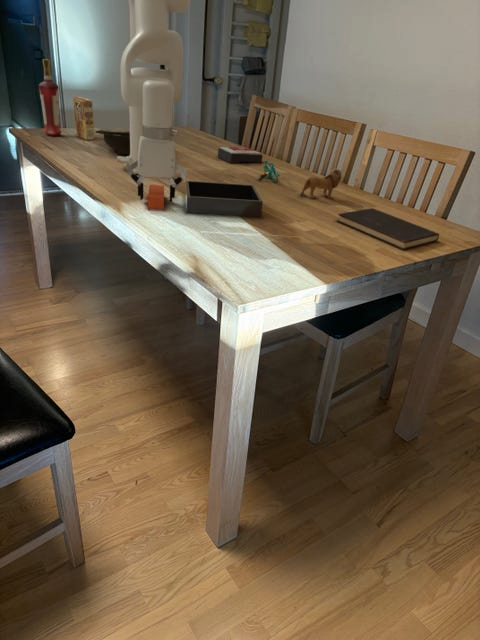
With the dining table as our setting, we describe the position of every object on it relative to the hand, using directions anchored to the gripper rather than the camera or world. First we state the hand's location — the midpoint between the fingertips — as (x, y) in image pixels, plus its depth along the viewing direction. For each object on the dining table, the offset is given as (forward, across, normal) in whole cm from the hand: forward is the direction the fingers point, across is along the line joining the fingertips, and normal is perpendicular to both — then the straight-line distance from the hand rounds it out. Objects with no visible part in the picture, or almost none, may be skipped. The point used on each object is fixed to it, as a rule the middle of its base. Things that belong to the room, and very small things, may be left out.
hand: (156, 198), depth 134 cm
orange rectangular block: (+1, 0, 0) cm, 1 cm away
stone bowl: (+1, +13, -66) cm, 67 cm away
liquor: (+1, +45, -85) cm, 96 cm away
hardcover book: (+1, -64, +13) cm, 65 cm away
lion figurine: (+1, -53, -18) cm, 56 cm away
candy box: (+2, +32, -85) cm, 91 cm away
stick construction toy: (+1, -38, -36) cm, 52 cm away
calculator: (+1, -32, -65) cm, 72 cm away
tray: (+1, -18, 0) cm, 19 cm away
